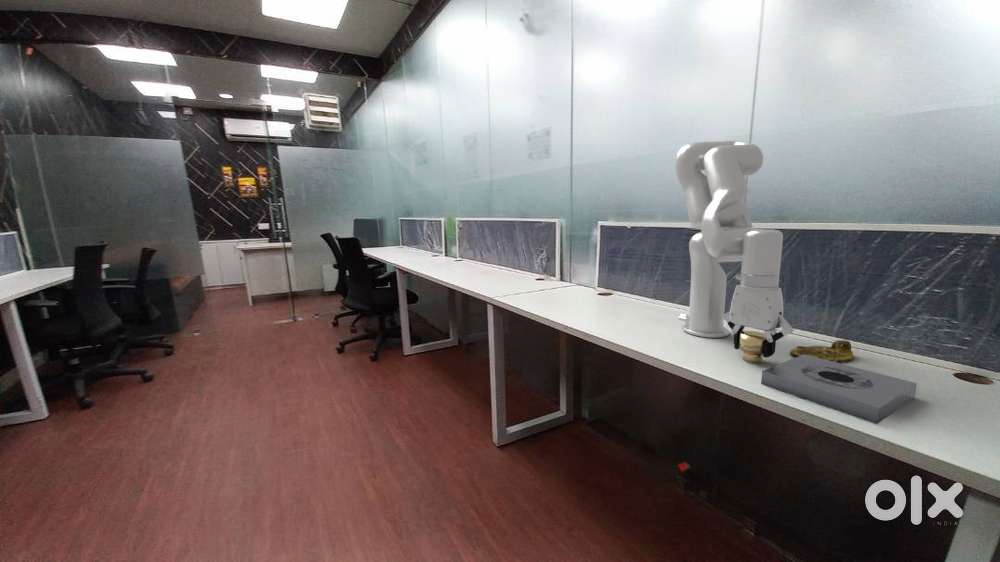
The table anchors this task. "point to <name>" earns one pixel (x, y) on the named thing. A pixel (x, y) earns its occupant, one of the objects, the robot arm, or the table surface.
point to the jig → (841, 387)
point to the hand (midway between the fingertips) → (753, 351)
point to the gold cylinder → (752, 346)
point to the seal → (827, 352)
